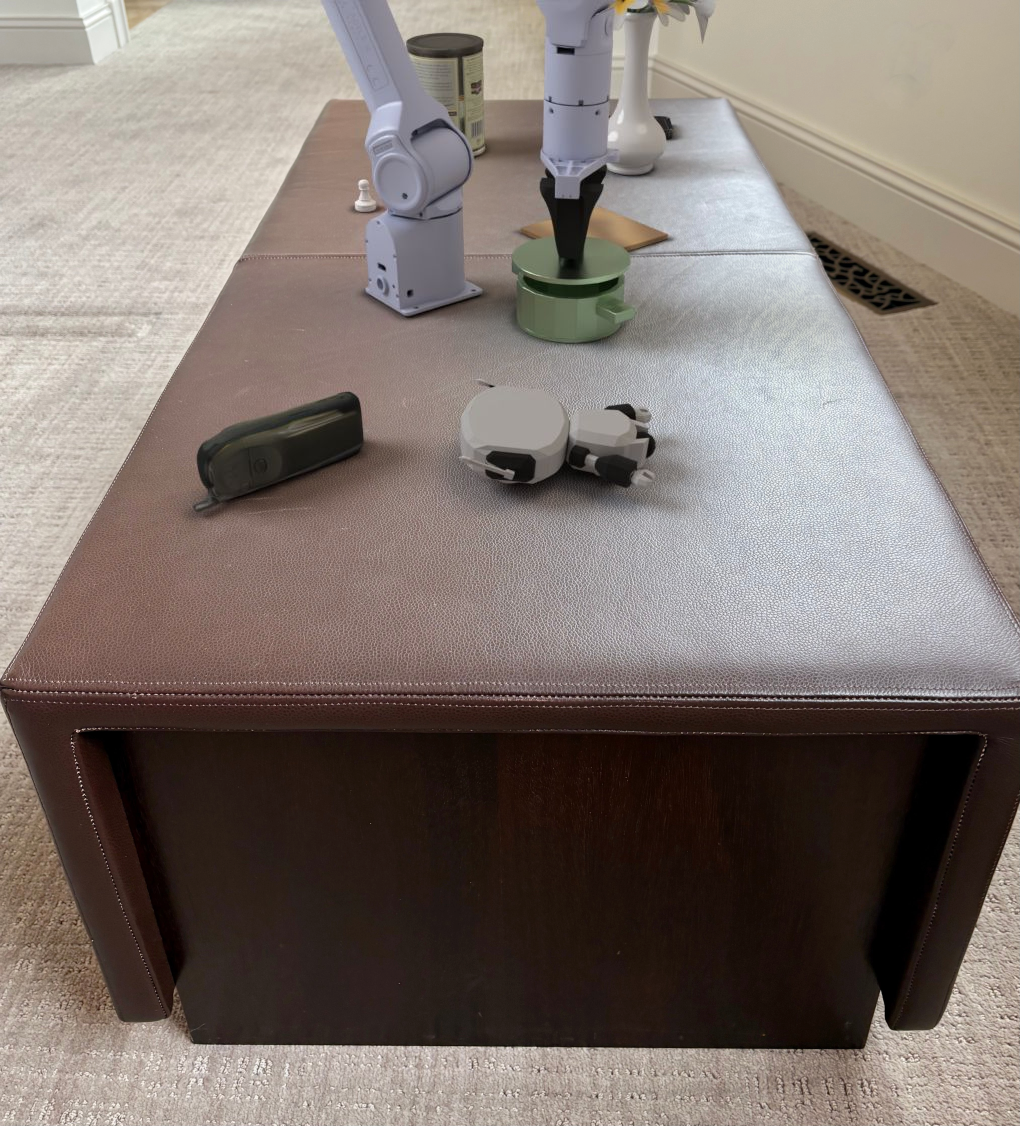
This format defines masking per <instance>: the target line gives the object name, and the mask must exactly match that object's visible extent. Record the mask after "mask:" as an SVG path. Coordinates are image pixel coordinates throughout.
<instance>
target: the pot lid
mask: <svg viewBox="0 0 1020 1126" xmlns="http://www.w3.org/2000/svg"><path fill="white" fill-rule="evenodd" d="M631 262H632V259H631V255H630V253H629V251H626V250H625V249H624V248H623V247H621V246H619V245H617V244H615V243H613V242H610V241H607V240H603V239H599V238H594V237H587V236H586V240H585V245H584V249H583V253H582V256H581V258H580V259H573V258H559V256H558V253H557V248H556V243H555V237H554V236H551V237H544V238H539V239H532V240H528V241H526V242H524V243H521V244H520V245H519V246H518V247H516V248H515V249H514V250H513V252H512V254H511V265H512V264H513V266H514V268H515V269H516V270H517V271H518V272H520V273H521V274H523V275H525V276H527V277H529V278H532V279H535V280H539V281H543V282H548V283H554V284H564V285H583V284H593V283H599V282H604V281H608V280H611V279H614V278H616V277H619V276H621V275H622V274H625V273H626V272H628V270H629V268H630V266H631Z"/></svg>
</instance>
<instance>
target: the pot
mask: <svg viewBox="0 0 1020 1126" xmlns="http://www.w3.org/2000/svg"><path fill="white" fill-rule="evenodd" d="M511 273H513V274H515V275H517V277H516V319H517V324H518V326H519V327H520V329H521V330H523V332H525V333H526V334H528V335H530V336H533V337H535V338H537V339H541V340H544V341H549V342H555V343H562V344H563V343H564V344H565V343H566V344H578V343H587V342H594V341H598V340H602V339H605V338H608V337H610V336H612V335H613V334H614V333H616V332H618V331H619V329H620V328H621V326H622V323H623V322H626V321H629V320H631V319H634V318H635V312H636V308H635V306H632V305H631V304H628V303H626V302H624V299H625V297H624V295H625V283H626V282H625V281H626V276H625V275H624V274H625V273H624V274H622V275H621V276H619V277H616V278H614V279H611V280H608V281H604V282H599V283H593V284H583V285H564V284H554V283H548V282H543V281H539V280H535V279H532V278H529V277H527V276H525V275H523V274H521V273H520V272H518V271H517V270H516V269H515V268H514V266H513V264H512V263H511Z"/></svg>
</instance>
